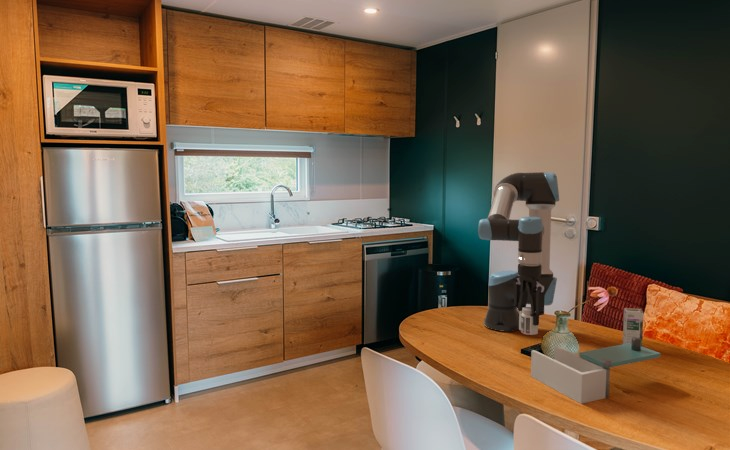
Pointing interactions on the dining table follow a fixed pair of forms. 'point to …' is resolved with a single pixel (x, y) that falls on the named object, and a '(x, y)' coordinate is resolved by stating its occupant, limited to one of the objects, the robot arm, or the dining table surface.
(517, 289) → the robot arm
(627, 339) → the syrup box
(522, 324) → the pill bottle
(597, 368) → the grey planter box
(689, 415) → the dining table surface
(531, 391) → the dining table surface
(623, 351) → the lid
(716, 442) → the dining table surface
